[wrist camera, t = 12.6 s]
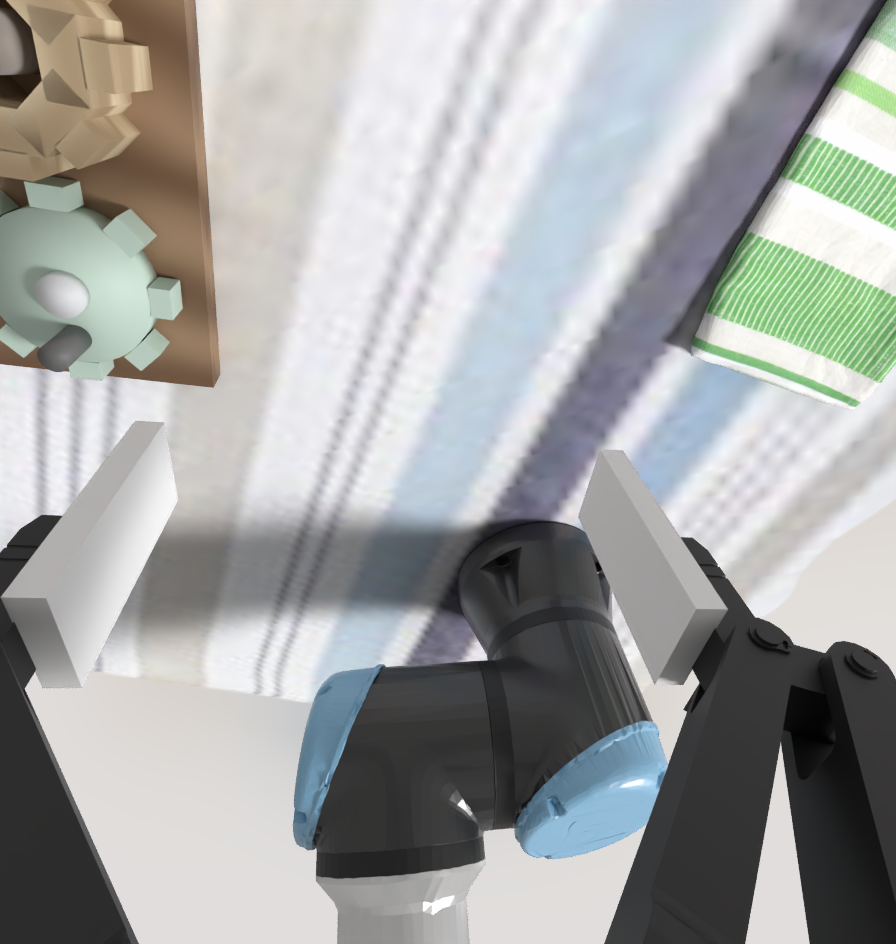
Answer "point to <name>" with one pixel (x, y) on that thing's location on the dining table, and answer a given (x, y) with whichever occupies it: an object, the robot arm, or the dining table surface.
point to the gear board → (147, 179)
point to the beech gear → (71, 90)
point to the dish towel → (822, 248)
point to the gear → (79, 283)
